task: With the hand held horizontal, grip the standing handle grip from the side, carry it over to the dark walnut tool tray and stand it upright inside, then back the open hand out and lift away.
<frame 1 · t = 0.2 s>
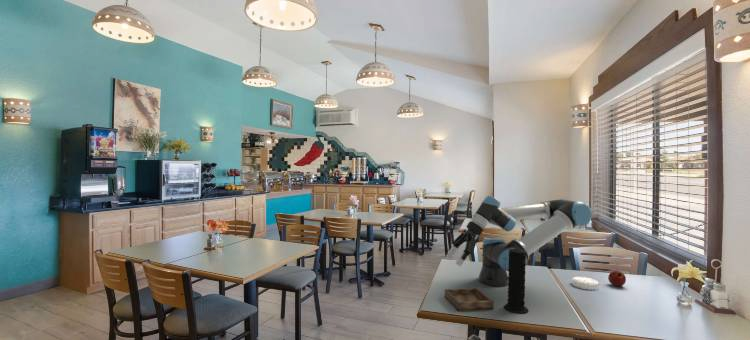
hand: (452, 261, 166), 16 cm above the table, tool tilted 35°, fingers open, 13 cm apart
tool tray: (468, 302, 155), on the table
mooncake: (585, 286, 179), on the table
handle grip: (515, 309, 149), on the table
apple: (616, 286, 180), on the table
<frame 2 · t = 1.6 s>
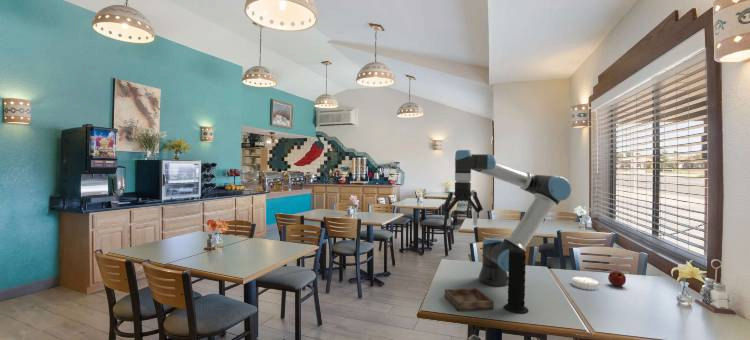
hand: (462, 225, 167), 33 cm above the table, tool pointing down, fingers open, 13 cm apart
nothing on the table moved.
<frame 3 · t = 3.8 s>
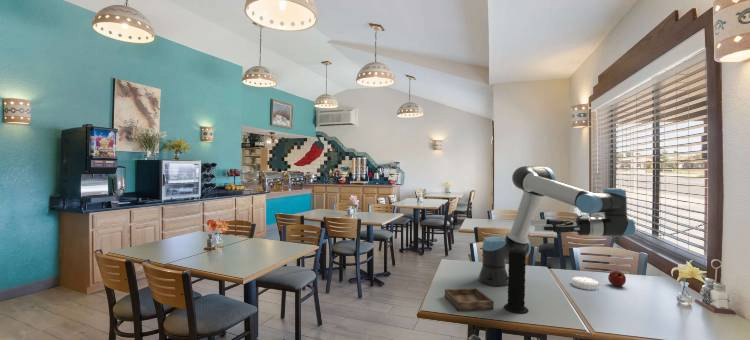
hand: (532, 224, 148), 37 cm above the table, tool horizontal, fingers open, 13 cm apart
nothing on the table moved.
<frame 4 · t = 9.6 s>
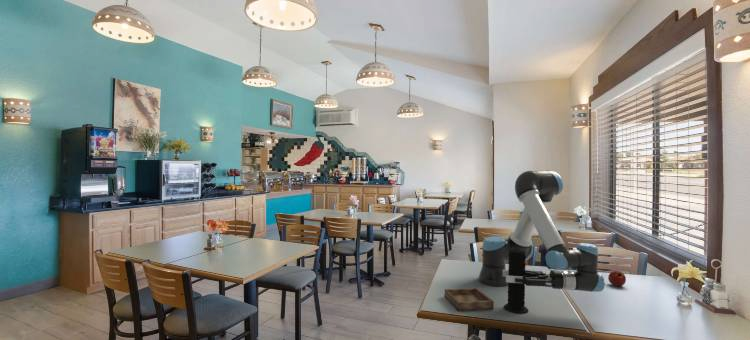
hand: (504, 275, 150), 14 cm above the table, tool horizontal, fingers closed on handle grip, 7 cm apart
handle grip: (515, 309, 149), on the table, touching gripper
everything else where it was.
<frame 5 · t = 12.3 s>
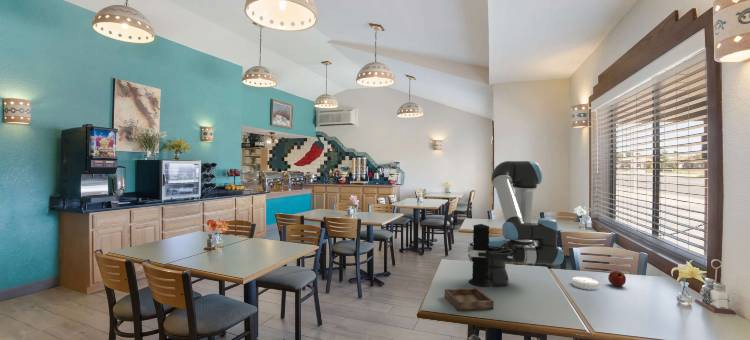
hand: (469, 251, 153), 24 cm above the table, tool horizontal, fingers closed on handle grip, 7 cm apart
handle grip: (480, 283, 153), point 9 cm above the table, touching gripper
everything else where it was.
when the fingers open (16 cm above the table, at t = 15.0 s): handle grip drops 1 cm, resting on tool tray.
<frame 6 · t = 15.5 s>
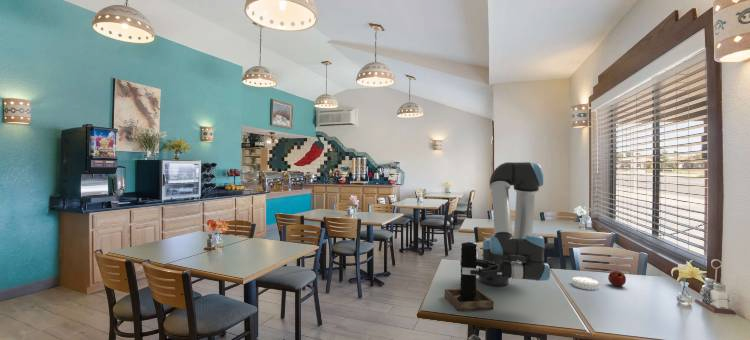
hand: (461, 266, 155), 16 cm above the table, tool horizontal, fingers open, 13 cm apart
handle grip: (468, 300, 155), point 1 cm above the table, touching tool tray
everything else where it was.
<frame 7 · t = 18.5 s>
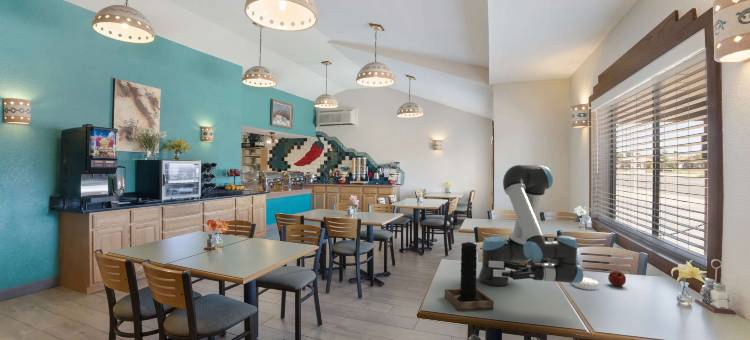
hand: (490, 268, 153), 16 cm above the table, tool horizontal, fingers open, 13 cm apart
nothing on the table moved.
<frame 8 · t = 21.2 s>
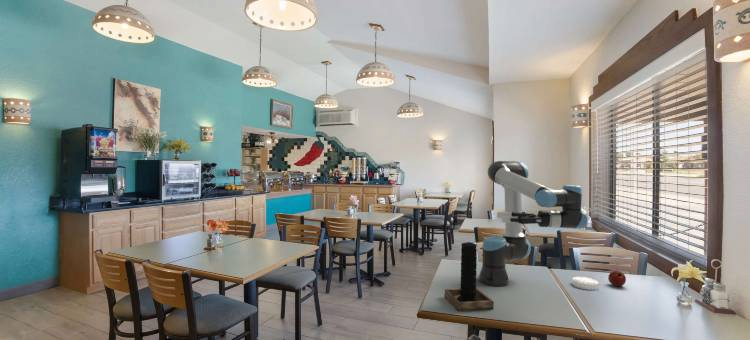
hand: (499, 216, 161), 38 cm above the table, tool horizontal, fingers open, 13 cm apart
nothing on the table moved.
at the end: handle grip inside the target area on the tool tray (0.0 cm from its centre), point 0.8 cm above the tool tray's base; handle grip tilted 0°; the gripper is holding nothing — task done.
